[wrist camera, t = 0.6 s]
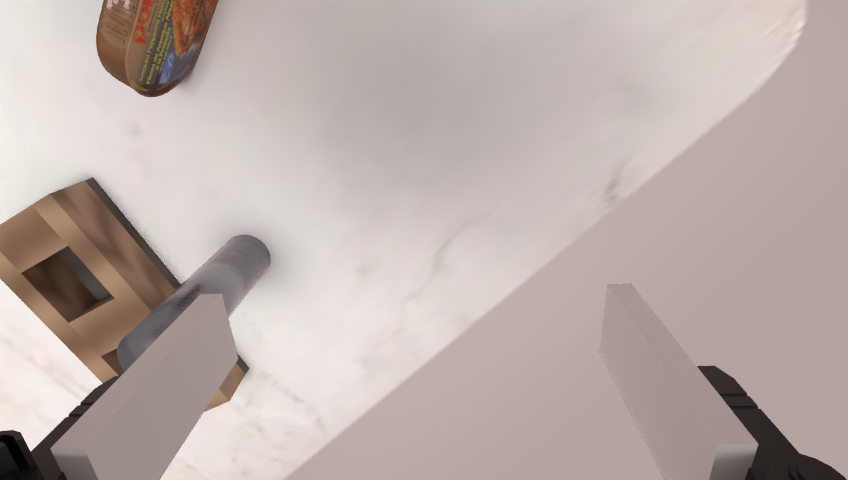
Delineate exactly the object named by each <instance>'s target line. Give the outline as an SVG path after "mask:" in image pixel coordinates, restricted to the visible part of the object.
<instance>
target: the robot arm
mask: <svg viewBox="0 0 848 480" xmlns="http://www.w3.org/2000/svg"><path fill="white" fill-rule="evenodd" d="M599 353H600V355H601V357H602V359H603V361H604V363H605V365H606V366H607V369H608V371H609V373H610V374H611V377H612V379H613V380H614V382H615V384H616V386H617V388H618V390H619V392H620V394H621V396H622V398H623V400H624V402H625V404H626V406H627V408H628V410H629V412H630V414H631V416H632V418H633V420H634V422H635V424H636V426H637V428H638V429H639V431H640V433H641V435H642V437H643V439H644V441H645V443H646V445H647V447H648V449H649V451H650V453H651V455H652V457H653V459H654V461H655V463H656V465H657V467H658V469H659V471H660V473H661V475H662V477H663V479H664V480H846V478H845V477H844V476H842V475H841V474H840V473H838V472H837V471H836V470H835V469H833V468H832V467H831V466H829V465H827V464H825V463H823V462H821V461H819V460H817V459H815V458H812V457H808V456H806V455H802V454H799V453H798V451H797V450H796V449H795V448H794V447H793V446H792V444H791V443H790V442H789V441H788V440H787V439H786V438H785V436H784V435H783V434H782V433H781V432H780V431H779V430H778V428H777V427H776V426H775V425H774V424H773V423H772V422H771V420H770V419H769V418H768V417H767V416H766V415H765V414H764V413H763V411H762V410H761V409H758V406H757V405H756V403H755V402H754V401H753V400H752V399H751V398H750V397H749V396H747V393H746V392H745V391H744V390H743V388H742V387H741V386H740V385H739V384H738V383H737V382H736V380H735V379H734V378H732V377H731V376H729V375H728V374H726V373H724V372H723V371H722V370H720V369H719V368H717V367H716V366H696V365H695V363H694V362H693V361H692V360H691V358H690V357H689V356H688V355H687V353H686V352H685V351H684V350H683V348H682V347H681V346H680V344H679V343H678V342H677V341H676V339H675V338H674V337H673V336H672V334H671V333H670V332H669V331H668V329H667V328H666V327H665V326H664V324H663V323H662V322H661V320H660V319H659V318H658V317H657V315H655V313H654V312H653V311H652V309H651V308H650V307H649V305H648V304H647V303H646V302H645V300H644V299H643V298H642V297H641V295H640V294H639V293H638V291H637V290H636V289H635V288H634V286H633V285H632V284H608V285H607V293H606V301H605V310H604V318H603V326H602V335H601V343H600V351H599ZM237 360H238V355H237V351H236V347H235V343H234V339H233V335H232V332H231V328H230V324H229V320H228V316H227V312H226V308H225V304H224V300H223V296H222V294H200V295H199V296H198V297H197V298H196V299H195V300H194V301H193V302H192V304H191V305H190V306H189V307H188V308H187V309H186V310H185V311H184V312H183V313H182V314H181V315H180V316H179V317H178V318H177V319H176V320H175V321H174V322H173V323H172V324H171V325H170V326H169V327H168V328H167V329H166V330H165V331H164V332H163V333H162V334H161V335H160V336H159V337H158V338H157V339H156V340H155V341H154V343H153V344H152V345H151V346H150V347H149V348H148V349H147V350H146V351H145V352H144V353H143V354H142V355H141V356H140V357H139V358H138V359H137V360H136V361H135V362H134V363H133V364H132V365H131V366H130V367H129V368H128V369H127V370H126V371H125V372H124V373H123V374H122V375H121V376H114V377H112V378H111V379H109V380H108V381H106V382H105V383H103V384H101V385H100V386H98V387H97V388H95V389H94V390H93V391H92V392H91V393H90V394H89V395H88V396H87V397H86V398H85V399H84V400H83V401H82V402H81V405H80V406H77V407H76V408H75V409H74V410H73V411H72V412H71V413H70V414H69V417H66V418H65V419H64V420H63V421H62V422H61V423H60V424H59V425H58V426H57V427H56V428H55V429H54V430H53V431H52V432H51V433H50V434H49V435H48V436H46V437H45V438H44V439H43V440H42V441H41V442H40V443H39V444H38V445H37V446H36V447H35V448H34V449H33V450H32V451H31V452H30V450H29V448H28V446H27V444H26V442H25V440H24V438H23V436H22V434H21V433H20V432H17V431H14V430H10V431H0V480H160V478H161V477H162V475H163V474H164V472H165V471H166V469H167V467H168V466H169V464H170V463H171V461H172V460H173V458H174V457H175V455H176V454H177V452H178V451H179V449H180V448H181V446H182V444H183V443H184V441H185V440H186V438H187V437H188V435H189V434H190V432H191V431H192V429H193V428H194V426H195V425H196V423H197V421H198V420H199V418H200V417H201V415H202V414H203V412H204V411H205V409H206V408H207V406H208V405H209V403H210V402H211V400H212V398H213V397H214V395H215V394H216V392H217V391H218V389H219V388H220V386H221V385H222V383H223V382H224V380H225V379H226V377H227V375H228V374H229V372H230V371H231V369H232V368H233V366H234V365H235V363H236V362H237Z"/></svg>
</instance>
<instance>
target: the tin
mask: <svg viewBox="0 0 848 480" xmlns="http://www.w3.org/2000/svg"><path fill="white" fill-rule="evenodd" d="M217 1H218V0H104V2H103V6H102V10H101V14H100V18H99V23H98V27H97V36H96V44H97V52H98V56H99V58H100V61H101V63H102V65H103V66H104V68H105V69H106V70H107V72H109V73H110V74H111V75H112V76H113V77H115V78H116V79H118V80H119V81H121V82H123V83H124V84H126V85H128V86H130V87H131V88H133V89H134V90H135V91H136V92H138V93H139V94H141V95H143V96H146V97H157V96H160V95H163V94H165V93H167V92H169V91H170V90H172V89H173V88H174V87H176V86H177V85H178V84H179V83H180V82H181V81H182V80H183V79H184V78H185V77H186V76H187V75H188V73H189V72H190V70H191V69H192V67H193V66H194V64H195V62H196V60H197V58H198V56H199V54H200V51H201V48H202V46H203V43H204V40H205V37H206V34H207V31H208V28H209V25H210V22H211V19H212V16H213V13H214V10H215V7H216V4H217Z"/></svg>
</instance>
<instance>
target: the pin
mask: <svg viewBox="0 0 848 480" xmlns="http://www.w3.org/2000/svg"><path fill="white" fill-rule="evenodd" d="M269 263H270V255H269V252H268V250H267V248H266V246H265V245H264V244H263V243H262V242H261V241H259V240H258V239H256V238H254V237H252V236H247V235H240V236H236V237H234V238H232V239H231V240H230V241H229V242H227V243H226V244H225V245H224V246H223V247H222V248H221V249H220V250H219V251H218V252H217V253H215V254H214V255H213V256H212V257H211V258H210V259H209V260H208V261H207V262H206V263H205V264H203V265H202V266H201V267H200V268H199V269H198V270H197V271H196V272H195V273H194V274H193V275H191V276H190V277H189V278H188V279H187V280H186V281H185V282H184V283H183V284H182V285H181V286H179V287H178V288H177V289H176V290H175V291H174V292H173V293H172V294H171V295H170V296H169V297H167V298H166V299H165V300H164V301H163V302H162V303H161V304H160V305H159V306H158V307H157V308H155V309H154V310H153V311H152V312H151V313H150V314H149V315H148V316H147V317H146V318H145V319H143V320H142V321H141V322H140V323H139V324H138V325H137V326H136V327H135V328H134V329H133V330H132V331H130V332H129V333H128V334H127V335H126V336H125V337H124V338H123V339H122V340H121V341H120V343H119V345H118V347H117V357H118V361H119V363H120V365H121V367H122V368H123V369H124V371H126V370H127V369H128V368H129V367H130V366H131V365H132V364H133V363H134V362H135V361H136V360H137V359H138V358H139V357H140V356H141V355H142V354H143V353H144V352H145V351H146V350H147V349H148V348H149V347H150V346H151V345H152V344H153V343H154V341H155V340H156V339H157V338H158V337H159V336H160V335H161V334H162V333H163V332H164V331H165V330H166V329H167V328H168V327H169V326H170V325H171V324H172V323H173V322H174V321H175V320H176V319H177V318H178V317H179V316H180V315H181V314H182V313H183V312H184V311H185V310H186V309H187V308H188V307H189V306H190V305H191V304H192V302H193V301H194V300H195V299H196V298H197V297H198V296H199V295H200V294H222V296H223V300H224V304H225V308H226V312H227V316H228V318H229V317H230V315H231V314H232V313H233V311H234V310H235V309H236V308H237V306H238V305H239V304H240V303H241V301H242V300H243V299H244V297H245V296H246V295H247V294H248V292H249V291H250V290H251V289H252V287H253V286H254V285H255V283H256V282H257V281H258V280H259V278H260V277H261V276H262V275H263V273H264V272H265V271H266V269H267V268H268V266H269Z"/></svg>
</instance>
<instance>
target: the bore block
mask: <svg viewBox="0 0 848 480" xmlns="http://www.w3.org/2000/svg"><path fill="white" fill-rule="evenodd" d="M0 279H1V280H2V281H3V282H4V283H5V284H6V285H7V286H8V287H9V288H10V289H11V290H12V291H13V292H14V293H15V294H16V295H17V296H18V297H19V298H20V299H21V300H22V301H23V302H24V303H25V304H26V305H27V306H28V307H29V308H30V309H31V310H32V311H33V312H34V313H35V314H36V315H37V316H38V317H39V318H40V320H41V321H42V322H43V323H44V324H45V325H46V326H47V327H48V328H49V329H50V330H51V331H52V332H53V333H54V334H55V335H56V336H57V337H58V338H59V339H60V340H61V341H62V342H63V343H64V344H65V345H66V346H67V347H68V348H69V349H70V350H71V351H72V352H73V353H74V354H75V355H76V356H77V357H78V358H79V359H80V360H81V361H82V362H83V363H84V364H85V365H86V366H87V367H88V369H89V370H90V371H91V372H92V373H93V374H94V375H95V376H96V377H97V378H98V379H99V380H100V381H101V382H102V383H105V382H106V381H108V380H109V379H111V378H112V377H114V376H121V375H122V374H123V373H124V372H125V371H124V369H123V368H122V367H121V365H120V363H119V361H118V357H117V347H118V345H119V343H120V341H121V340H122V339H123V338H124V337H125V336H126V335H127V334H128V333H129V332H130V331H132V330H133V329H134V328H135V327H136V326H137V325H138V324H139V323H140V322H141V321H142V320H143V319H145V318H146V317H147V316H148V315H149V314H150V313H151V312H152V311H153V310H154V309H155V308H157V307H158V306H159V305H160V304H161V303H162V302H163V301H164V300H165V299H166V298H167V297H169V296H170V295H171V294H172V293H173V292H174V291H175V290H176V289H177V288H178V287H179V286H181V285H180V283H179V282H178V281H177V280H176V279H175V277H174V276H173V275H172V274H171V272H170V271H169V270H168V269H167V268H166V266H165V265H164V264H163V263H162V261H161V260H160V259H159V258H158V257H157V255H156V254H155V253H154V252H153V250H152V249H151V248H150V247H149V246H148V244H147V243H146V242H145V241H144V240H143V238H142V237H141V236H140V235H139V233H138V232H137V231H136V230H135V229H134V227H133V226H132V225H131V224H130V222H129V221H128V220H127V219H126V218H125V216H124V215H123V214H122V213H121V211H120V210H119V209H118V208H117V207H116V205H115V204H114V203H113V202H112V201H111V199H110V198H109V197H108V196H107V194H106V193H105V192H104V191H103V190H102V188H101V187H100V186H99V185H98V183H97V182H96V181H95V180H94V179H93V178H90V179H88V180H85V181H83V182H80V183H77V184H75V185H72V186H69V187H67V188H64V189H61V190H59V191H56V192H53V193H51V194H49V195H47V196H46V197H44V198H42V199H41V200H39V201H38V202H36V203H34V204H33V205H31V206H30V207H28V208H26V209H25V210H23V211H22V212H20V213H18V214H17V215H15V216H14V217H12V218H10V219H9V220H7V221H6V222H4V223H2V224H1V225H0ZM237 355H238V354H237ZM248 369H249V367H248V366H247V365H246V364H245V363H244V361H243V360H242V359H241V358H240V357H239V355H238V360H237V362H236V363H235V365H234V366H233V368H232V369H231V371H230V372H229V374H228V375H227V377H226V379H225V380H224V382H223V383H222V385H221V386H220V388H219V389H218V391H217V392H216V394H215V395H214V397H213V398H212V400H211V402H210V403H209V405H208V406H207V408H206V409H205V411H207V410H210V409H212V408H214V407H217V406H219V405H221V404H223V403H226V402H228V401H230V399H231V397H232V396H233V394H234V392H235V391H236V389H237V387H238V386H239V384H240V382H241V381H242V379H243V377H244V376H245V374H246V372H247V371H248ZM205 411H204V412H205Z"/></svg>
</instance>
